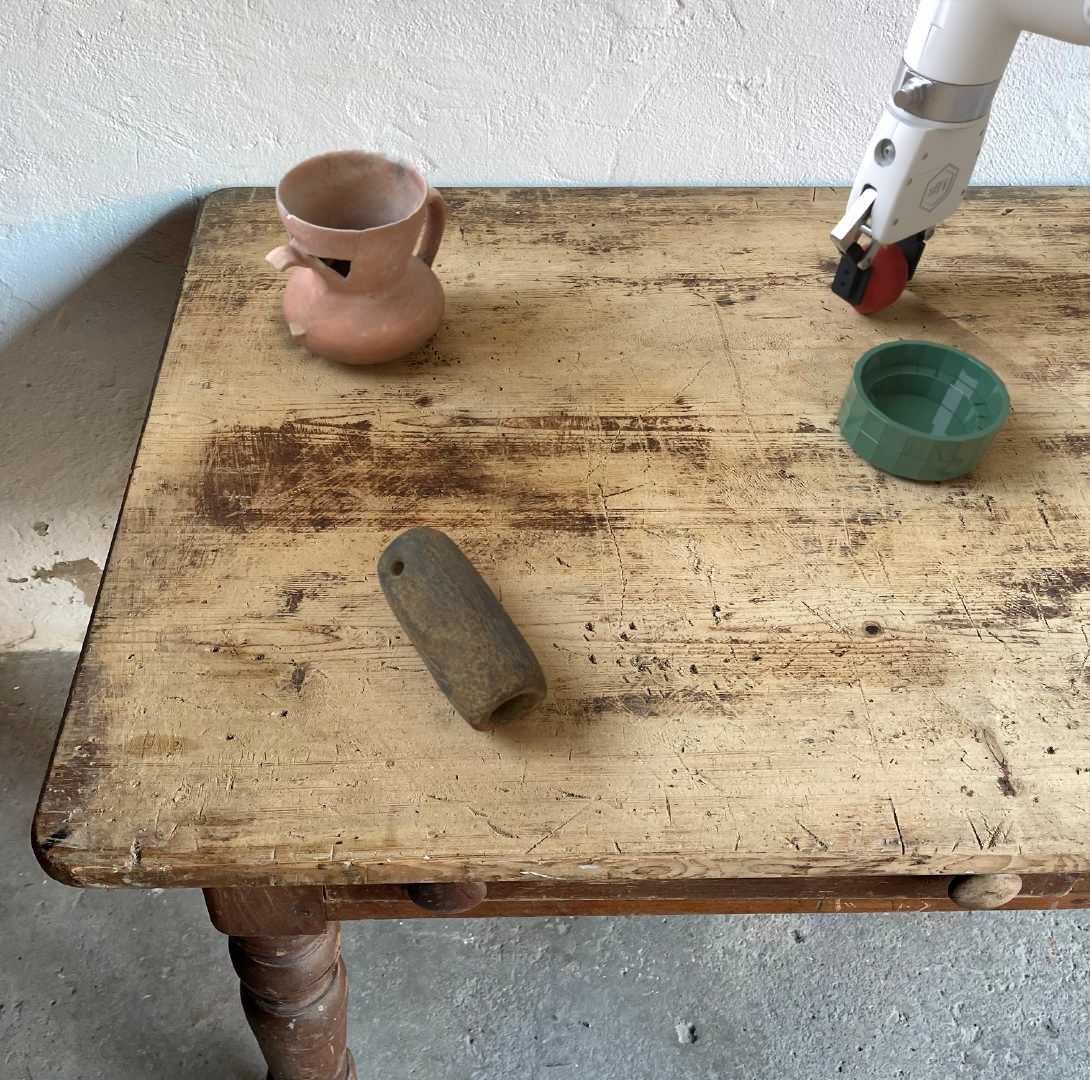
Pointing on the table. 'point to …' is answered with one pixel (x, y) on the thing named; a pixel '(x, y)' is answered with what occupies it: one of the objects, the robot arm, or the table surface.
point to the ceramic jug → (360, 255)
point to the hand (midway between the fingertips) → (871, 284)
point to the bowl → (922, 409)
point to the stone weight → (460, 630)
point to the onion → (884, 279)
